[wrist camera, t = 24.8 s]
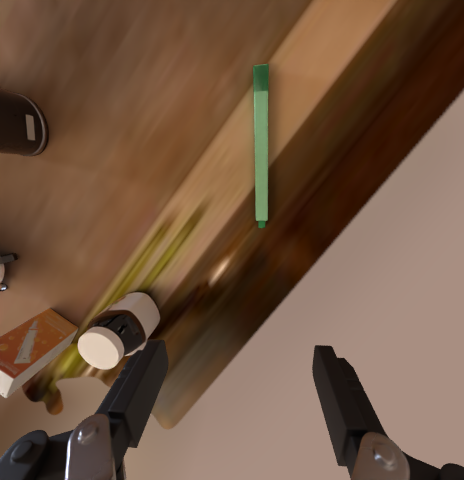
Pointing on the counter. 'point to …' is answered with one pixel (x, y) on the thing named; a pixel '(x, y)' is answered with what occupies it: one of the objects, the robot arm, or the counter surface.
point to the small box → (32, 348)
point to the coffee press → (3, 259)
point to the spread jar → (119, 330)
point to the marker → (261, 141)
